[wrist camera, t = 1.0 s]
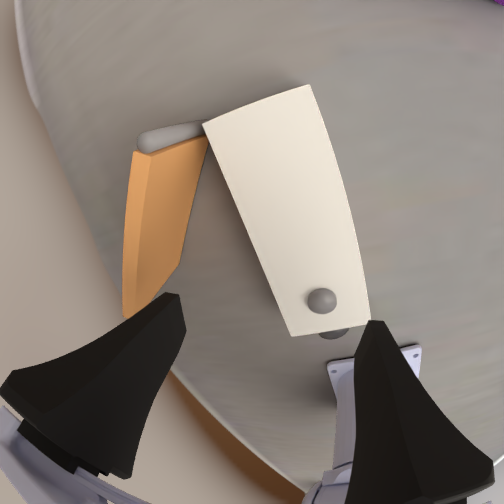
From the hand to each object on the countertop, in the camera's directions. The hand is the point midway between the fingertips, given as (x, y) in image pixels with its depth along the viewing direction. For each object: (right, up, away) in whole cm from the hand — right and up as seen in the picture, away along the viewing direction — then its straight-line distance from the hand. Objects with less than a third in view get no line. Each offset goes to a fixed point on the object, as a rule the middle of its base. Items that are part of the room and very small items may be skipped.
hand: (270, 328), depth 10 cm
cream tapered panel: (+2, +5, +5) cm, 7 cm away
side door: (-4, +6, +6) cm, 10 cm away
